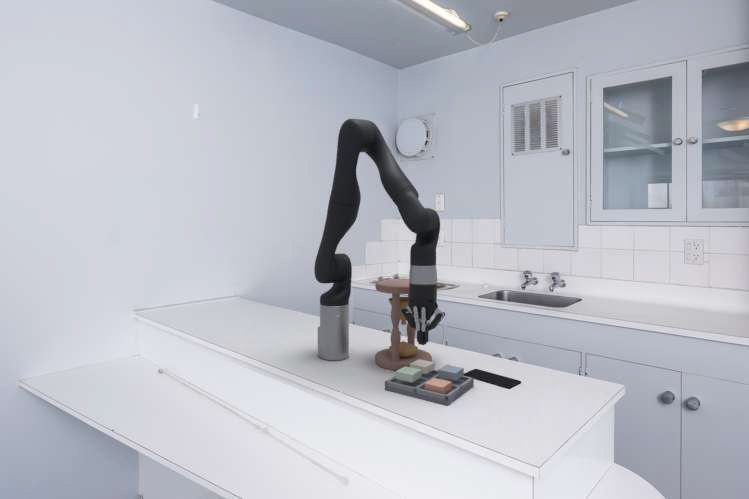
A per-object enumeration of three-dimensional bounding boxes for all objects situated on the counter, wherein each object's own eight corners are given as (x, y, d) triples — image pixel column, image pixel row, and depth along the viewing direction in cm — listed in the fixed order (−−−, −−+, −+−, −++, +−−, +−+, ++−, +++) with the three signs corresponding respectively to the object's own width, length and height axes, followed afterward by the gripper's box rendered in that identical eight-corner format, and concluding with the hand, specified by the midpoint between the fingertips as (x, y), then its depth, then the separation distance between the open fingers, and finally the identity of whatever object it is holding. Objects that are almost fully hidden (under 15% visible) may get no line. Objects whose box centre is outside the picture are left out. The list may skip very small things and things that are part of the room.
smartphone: (509, 387, 124) (461, 374, 134) (509, 391, 124) (461, 376, 134) (522, 381, 128) (475, 368, 139) (522, 384, 128) (475, 371, 139)
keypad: (384, 389, 123) (384, 381, 123) (414, 373, 136) (414, 365, 136) (447, 405, 113) (447, 396, 112) (473, 385, 126) (473, 377, 126)
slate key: (438, 377, 124) (438, 369, 124) (446, 371, 128) (446, 364, 128) (455, 380, 121) (455, 373, 121) (463, 375, 125) (463, 368, 125)
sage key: (395, 378, 123) (395, 371, 123) (405, 373, 127) (405, 366, 127) (412, 382, 120) (412, 374, 120) (421, 377, 124) (421, 369, 124)
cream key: (409, 370, 129) (410, 363, 129) (418, 366, 133) (418, 359, 133) (426, 374, 126) (426, 367, 126) (434, 369, 130) (434, 362, 130)
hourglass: (411, 375, 134) (412, 288, 132) (363, 363, 144) (364, 283, 143) (441, 360, 148) (443, 281, 146) (396, 350, 158) (396, 277, 157)
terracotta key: (424, 391, 118) (424, 383, 118) (433, 385, 122) (433, 377, 122) (442, 395, 115) (442, 387, 115) (451, 389, 119) (451, 381, 119)
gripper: (395, 281, 128) (394, 343, 129) (438, 284, 121) (438, 351, 122) (408, 278, 135) (408, 338, 136) (451, 281, 127) (450, 344, 128)
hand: (422, 344), depth 129 cm, fingers closed
